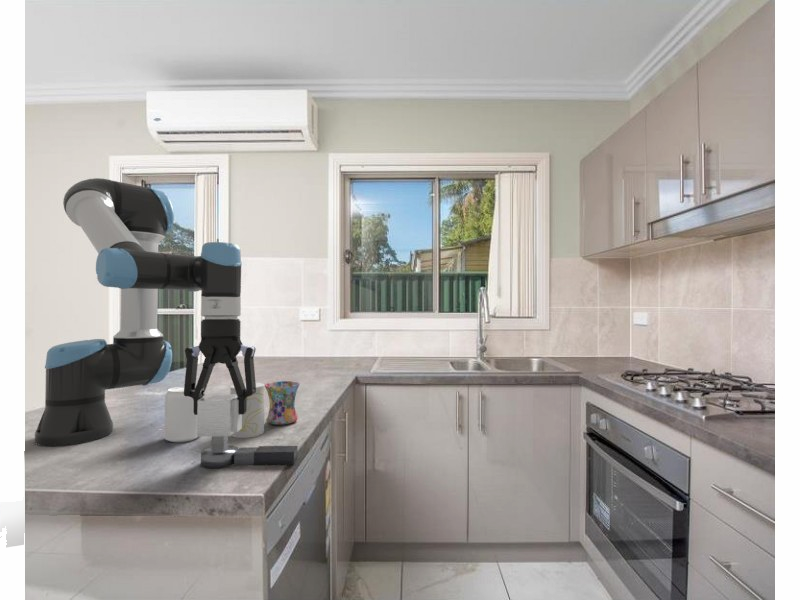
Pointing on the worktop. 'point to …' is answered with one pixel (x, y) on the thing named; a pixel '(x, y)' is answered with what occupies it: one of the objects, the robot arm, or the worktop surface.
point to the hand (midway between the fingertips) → (220, 430)
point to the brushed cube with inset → (216, 415)
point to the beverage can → (179, 416)
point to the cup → (252, 414)
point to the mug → (282, 402)
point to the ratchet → (246, 455)
